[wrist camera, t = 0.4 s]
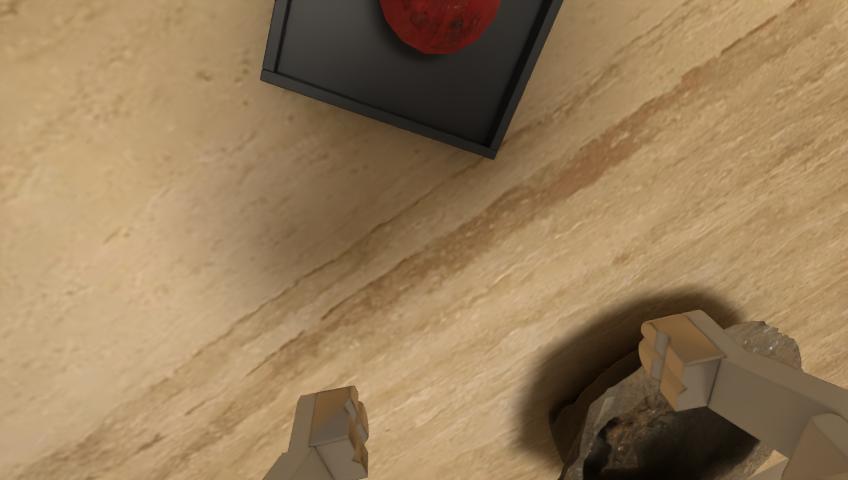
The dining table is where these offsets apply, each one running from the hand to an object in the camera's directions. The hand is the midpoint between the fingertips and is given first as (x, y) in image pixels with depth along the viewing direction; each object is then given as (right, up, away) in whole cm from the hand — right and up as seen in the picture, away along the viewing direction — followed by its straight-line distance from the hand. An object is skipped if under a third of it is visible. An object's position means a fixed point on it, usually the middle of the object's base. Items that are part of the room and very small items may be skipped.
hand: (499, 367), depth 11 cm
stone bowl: (+19, -11, +30) cm, 37 cm away
